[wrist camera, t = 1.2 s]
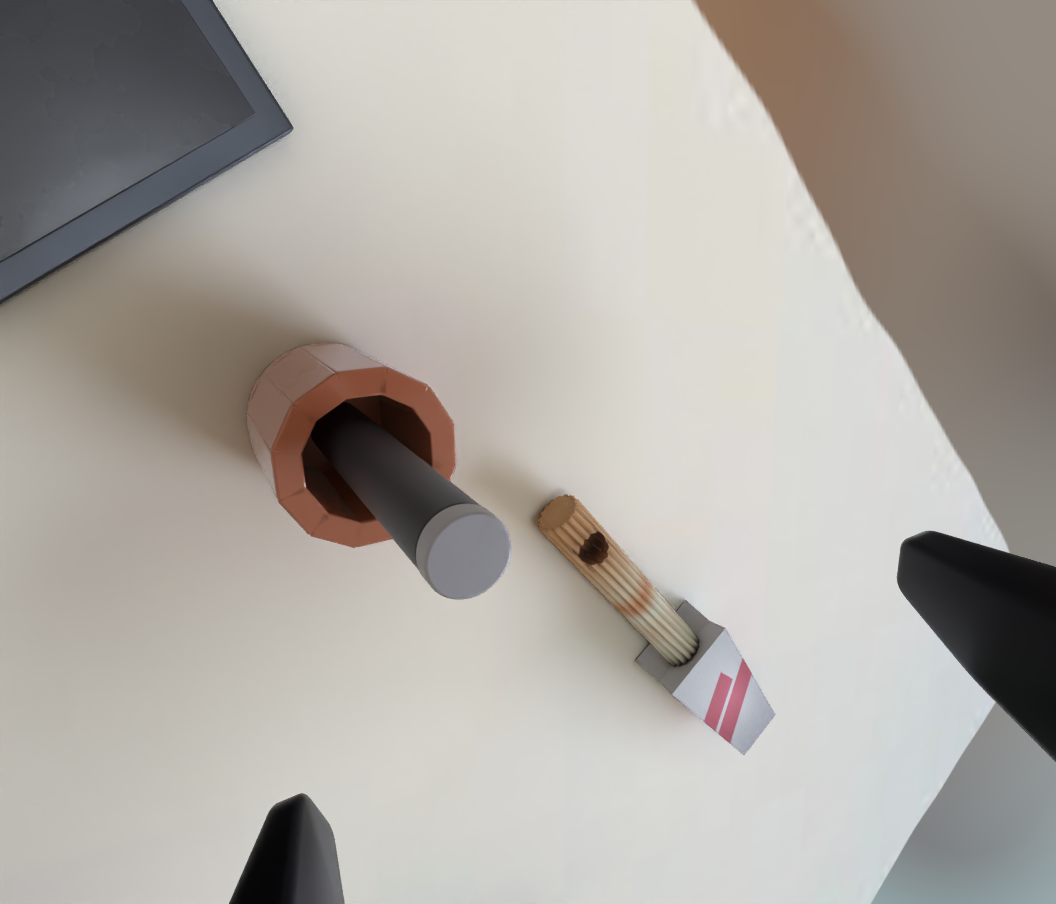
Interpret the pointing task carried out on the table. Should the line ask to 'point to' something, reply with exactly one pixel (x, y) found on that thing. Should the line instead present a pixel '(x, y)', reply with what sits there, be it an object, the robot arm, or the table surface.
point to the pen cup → (310, 393)
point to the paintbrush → (665, 630)
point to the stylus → (416, 505)
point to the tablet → (114, 121)
